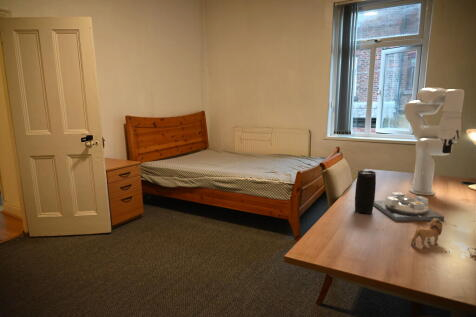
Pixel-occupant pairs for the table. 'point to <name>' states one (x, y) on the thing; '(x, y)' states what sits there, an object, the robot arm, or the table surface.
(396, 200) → the silver hub plate
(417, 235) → the lion figurine
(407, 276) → the table surface
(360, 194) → the portable speaker
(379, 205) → the grey square base plate
